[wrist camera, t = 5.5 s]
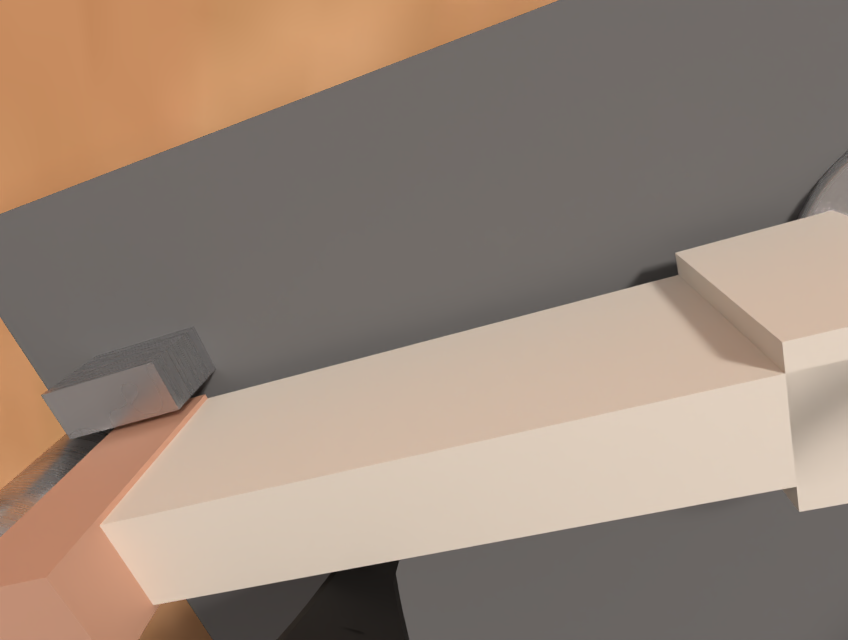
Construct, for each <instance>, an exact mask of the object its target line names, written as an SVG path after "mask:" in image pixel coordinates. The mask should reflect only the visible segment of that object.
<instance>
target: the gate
mask: <svg viewBox="0 0 848 640" xmlns="http://www.w3.org/2000/svg"><path fill="white" fill-rule="evenodd" d="M675 256H676V262H677V268H678V274H679V275H676V276H672V277H668V278H664V279H661V280H657V281H653V282H649V283H645V284H642V285H638V286H634V287H630V288H626V289H623V290H619V291H615V292H611V293H607V294H604V295H600V296H596V297H592V298H588V299H584V300H581V301H577V302H573V303H569V304H565V305H562V306H558V307H554V308H550V309H546V310H543V311H539V312H535V313H531V314H527V315H523V316H520V317H516V318H512V319H508V320H504V321H501V322H497V323H493V324H489V325H485V326H482V327H478V328H474V329H470V330H466V331H463V332H459V333H455V334H451V335H447V336H443V337H440V338H436V339H432V340H428V341H424V342H421V343H417V344H413V345H409V346H405V347H402V348H398V349H394V350H390V351H386V352H382V353H379V354H375V355H371V356H367V357H363V358H360V359H356V360H352V361H348V362H344V363H341V364H337V365H333V366H329V367H325V368H322V369H318V370H314V371H310V372H306V373H302V374H299V375H295V376H291V377H287V378H283V379H280V380H276V381H272V382H268V383H264V384H261V385H257V386H253V387H249V388H245V389H242V390H238V391H234V392H230V393H226V394H222V395H219V396H215V397H211V398H207V396H206V394H204V395H200V396H197V397H193V398H189V399H188V400H187V401H186V402H185V404H184V405H183V406H182V407H181V408H180V409H179V410H176V411H172V412H169V413H165V414H161V415H158V416H154V417H150V418H147V419H143V420H139V421H136V422H132V423H128V424H125V425H121V426H117V427H115V428H114V429H113V430H112V431H111V432H110V433H109V434H108V435H107V436H106V437H105V438H104V439H103V440H102V441H101V442H100V443H99V444H98V445H96V446H95V447H94V448H93V449H92V450H91V451H90V452H89V453H88V454H87V455H86V456H85V457H84V458H83V459H82V460H81V461H80V462H79V463H78V464H77V465H76V466H74V467H73V468H72V469H71V470H70V471H69V472H68V473H67V474H66V475H65V476H64V477H63V478H62V479H61V480H60V481H59V482H58V483H57V484H56V485H55V486H54V487H52V488H51V489H50V490H49V491H48V492H47V493H46V494H45V495H44V496H43V497H42V498H41V499H40V500H39V501H38V502H37V503H36V504H35V505H34V506H33V507H32V508H30V509H29V510H28V511H27V512H26V513H25V514H24V515H23V516H22V517H21V518H20V519H19V520H18V521H17V522H16V523H15V524H14V525H13V526H12V527H11V528H10V529H8V530H7V531H6V532H5V533H4V534H3V535H2V536H1V537H0V640H138V639H139V638H140V636H141V634H142V633H143V631H144V630H145V628H146V626H147V625H148V623H149V621H150V620H151V618H152V616H153V615H154V613H155V611H156V610H157V608H158V606H159V605H160V604H162V603H168V602H173V601H179V600H184V599H189V598H195V597H200V596H206V595H211V594H217V593H222V592H227V591H233V590H238V589H244V588H249V587H255V586H260V585H265V584H271V583H276V582H282V581H287V580H293V579H298V578H303V577H309V576H314V575H320V574H325V573H331V572H336V571H341V570H347V569H352V568H358V567H363V566H369V565H374V564H379V563H385V562H390V561H396V560H401V559H406V558H412V557H417V556H423V555H428V554H434V553H439V552H444V551H450V550H455V549H461V548H466V547H472V546H477V545H482V544H488V543H493V542H499V541H504V540H510V539H515V538H520V537H526V536H531V535H537V534H542V533H548V532H553V531H558V530H564V529H569V528H575V527H580V526H586V525H591V524H596V523H602V522H607V521H613V520H618V519H624V518H629V517H634V516H640V515H645V514H651V513H656V512H662V511H667V510H672V509H678V508H683V507H689V506H694V505H699V504H705V503H710V502H716V501H721V500H727V499H732V498H737V497H743V496H748V495H754V494H759V493H765V492H770V491H775V490H781V489H782V490H783V491H784V493H785V494H786V495H787V497H788V498H789V499H790V501H791V502H792V503H793V504H794V506H795V507H796V508H797V510H798V511H799V512H802V511H808V510H813V509H819V508H825V507H830V506H836V505H842V504H847V503H848V216H847V215H844V214H842V213H839V212H836V211H833V210H831V211H828V212H824V213H820V214H817V215H813V216H809V217H806V218H802V219H798V220H794V221H791V222H787V223H783V224H780V225H776V226H772V227H769V228H765V229H761V230H757V231H754V232H750V233H746V234H743V235H739V236H735V237H732V238H728V239H724V240H720V241H717V242H713V243H709V244H706V245H702V246H698V247H694V248H691V249H687V250H683V251H680V252H676V253H675Z"/></svg>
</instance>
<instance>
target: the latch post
mask: <svg viewBox="0 0 848 640" xmlns="http://www.w3.org/2000/svg"><path fill="white" fill-rule="evenodd" d="M215 369H216V367H215V365H214V363H213V361H212V359H211V357H210V355H209V353H208V351H207V350H206V348H205V346H204V344H203V342H202V340H201V338H200V336H199V334H198V332H197V331H196V329H195V327H194V326H193V327H189V328H186V329H183V330H180V331H176V332H173V333H170V334H166V335H163V336H160V337H157V338H153V339H150V340H147V341H144V342H140V343H137V344H134V345H131V346H127V347H124V348H121V349H118V350H114V351H111V352H108V353H104V354H101V355H98V356H95V357H94V358H92V359H91V360H90V361H88V362H87V363H85V364H84V365H83V366H81V367H80V368H78V369H77V370H76V371H74V372H73V373H71V374H70V375H69V376H67V377H66V378H64V379H63V380H62V381H60V382H59V383H57V384H56V385H55V386H53V387H52V388H50V389H49V390H48V391H46V392H45V393H43V394H42V395H41V396H42V398H43V399H44V401H45V402H46V404H47V405H48V407H49V408H50V410H51V411H52V413H53V414H54V416H55V417H56V419H57V420H58V422H59V423H60V425H61V426H62V428H63V429H64V431H65V432H66V434H65V435H64V436H63V437H62V438H61V439H60V440H58V441H57V442H56V443H55V444H54V445H53V446H51V447H50V448H49V449H48V450H47V451H45V452H44V453H43V454H42V455H41V456H40V457H38V458H37V459H36V460H35V461H34V462H33V463H31V464H30V465H29V466H28V467H27V468H26V469H24V470H23V471H22V472H21V473H20V474H19V475H17V476H16V477H15V478H14V479H13V480H12V481H10V482H9V483H8V484H7V485H6V486H5V487H3V488H2V489H1V490H0V537H1V536H2V535H3V534H4V533H5V532H6V531H7V530H8V529H10V528H11V527H12V526H13V525H14V524H15V523H16V522H17V521H18V520H19V519H20V518H21V517H22V516H23V515H24V514H25V513H26V512H27V511H28V510H29V509H30V508H32V507H33V506H34V505H35V504H36V503H37V502H38V501H39V500H40V499H41V498H42V497H43V496H44V495H45V494H46V493H47V492H48V491H49V490H50V489H51V488H52V487H54V486H55V485H56V484H57V483H58V482H59V481H60V480H61V479H62V478H63V477H64V476H65V475H66V474H67V473H68V472H69V471H70V470H71V469H72V468H73V467H74V466H76V465H77V464H78V463H79V462H80V461H81V460H82V459H83V458H84V457H85V456H86V455H87V454H88V453H89V452H90V451H91V450H92V449H93V448H94V447H95V446H96V445H98V444H99V443H100V442H101V441H102V440H103V439H104V438H105V437H106V436H107V435H108V434H109V433H110V432H111V431H112V430H113V429H114V428H115V427H117V426H121V425H125V424H128V423H132V422H136V421H139V420H143V419H147V418H150V417H154V416H158V415H161V414H165V413H169V412H172V411H176V410H179V409H180V408H181V407H182V406H183V405H184V404H185V402H186V401H187V400H188V399H189V398H190V397H191V396H192V395H193V394H194V393H195V391H196V390H197V389H198V388H199V387H200V386H201V385H202V384H203V383H204V382H205V380H206V379H207V378H208V377H209V376H210V375H211V374H212V373H213V372H214V371H215Z"/></svg>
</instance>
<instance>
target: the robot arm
mask: <svg viewBox="0 0 848 640" xmlns="http://www.w3.org/2000/svg"><path fill="white" fill-rule="evenodd" d="M398 564H399V560H396V561H390V562H385V563H379V564H374V565H369V566H363V567H358V568H352V569H347V570H341V571H336V572H331V573H330V575H329V576H328V577H327V579H326V580H325V581H324V583H323V584H322V585H321V586H320V588H319V589H318V590H317V592H316V593H315V594H314V595H313V597H312V598H311V599H310V601H309V602H308V603H307V605H306V606H305V607H304V608H303V609H302V611H301V612H300V613H299V614H298V615H297V617H296V618H295V619H294V620H293V621H292V623H291V624H290V625H289V626H288V627H287V628H286V630H285V631H284V632H283V633H282V634H281V635H280V636H279V637H278V638H277V640H409V636H408V632H407V627H406V623H405V619H404V614H403V610H402V605H401V600H400V595H399V589H398V583H397V577H396V571H397V567H398Z"/></svg>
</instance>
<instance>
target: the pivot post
mask: <svg viewBox="0 0 848 640" xmlns="http://www.w3.org/2000/svg"><path fill="white" fill-rule="evenodd" d="M831 210H833V211H836V212H839V213H842V214H844V215H847V216H848V151H847V152H845V153H844V154H843V155H842V156H841V157H840V158H839V159H838V160H837V161H836V162H835V163H834V164H833V165H832V166H831V167H830V168H829V169H828V170H827V171H826V172H825V174H824V175H823V176H822V177H821V178H820V179H819V180H818V182H817V183H816V185H815V186H814V187H813V189H812V190H811V192H810V193H809V195H808V196H807V198H806V199H805V201H804V203H803V205H802V207H801V209H800V210H799V212H798V214H797V217H796V219H795V220H798V219H802V218H806V217H809V216H813V215H817V214H820V213H824V212H828V211H831Z"/></svg>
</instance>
